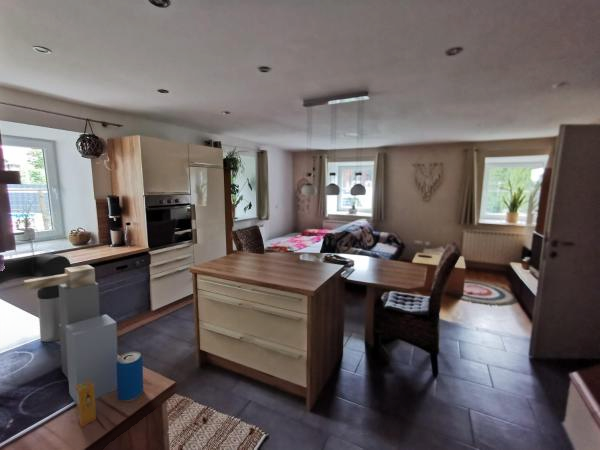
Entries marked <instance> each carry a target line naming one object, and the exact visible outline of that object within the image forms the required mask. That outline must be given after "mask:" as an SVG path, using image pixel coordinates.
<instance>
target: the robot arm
mask: <svg viewBox="0 0 600 450" xmlns="http://www.w3.org/2000/svg"><path fill="white" fill-rule="evenodd" d="M3 260H4V266H5V269H4V270H3V271H0V285H1V284H4V283H6V282H9V281H12V280H17V279H24V278H42V277H48V276H54V275H60V274H65V268H69V267H72V265H71V262H70V260H69V258H67V257H66V256H64V255H60V254H53V253H43V254H37V255H33V256H27V257H20V258H14V259H13V258H12V259H11V258H10V259H9V258H8V259H7V258H6V259H3ZM36 295H37V306H38V307H37V308H38V319H39V320H38V322H39V334H40V341H41V342H44V343H48V342H49V343H50V342H56V341H60V328H59V325H60V324H61V317H60V301H59V285H55V286H49V287H44V288H38V289H37V294H36Z"/></svg>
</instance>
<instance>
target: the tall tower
mask: <svg viewBox="0 0 600 450" xmlns="http://www.w3.org/2000/svg"><path fill="white" fill-rule="evenodd" d="M59 301H60V317H61V324H60V325H59V328H60V340H59V341H60V343H59V344H60V355H61V357H60V358H61V359H60V360H61V371H62V374H64V376H65V377H66V379H67V380H68V381H69V379H68V362H67V345H66V328H65V326H66V325H70V324H73V323H77V322H80V321H84V320H87V319H91V318H94V317H98V316H101V315H100V292H99V283H98V282H96V281H95V284H91V285H86V286H81V287H76V288H70V287H69V286H68V285H67V284H66V283H65V284H60V285H59Z"/></svg>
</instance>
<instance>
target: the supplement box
mask: <svg viewBox="0 0 600 450" xmlns="http://www.w3.org/2000/svg"><path fill="white" fill-rule="evenodd" d="M75 391H76V403H77V404H76V403H75V404H76V412H77V413H76V414H77V421H78V423H79V425H80V427H81V428H82V427H85V426H87V425H88V424H90V423H91V422H93V421H96V420H97V410H96V409H97V408H96V399H95V393H94V384H93V383H91V381H90V380H88V381H86V382H84V383H82V384H80V385H77V386H75Z"/></svg>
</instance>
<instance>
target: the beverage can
mask: <svg viewBox="0 0 600 450" xmlns="http://www.w3.org/2000/svg"><path fill="white" fill-rule="evenodd" d="M116 366H117V389H116V390H117V399H118V400H120V401H123V402H131V401H134V400H135V399H136V398H138V397H139V396H140V395H142V393H143V392H144V363H143V356H142V354H141V353H140V352H139V351H129V352H126V353H123V354H121V355H120V356H118V362H117V364H116Z"/></svg>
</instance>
